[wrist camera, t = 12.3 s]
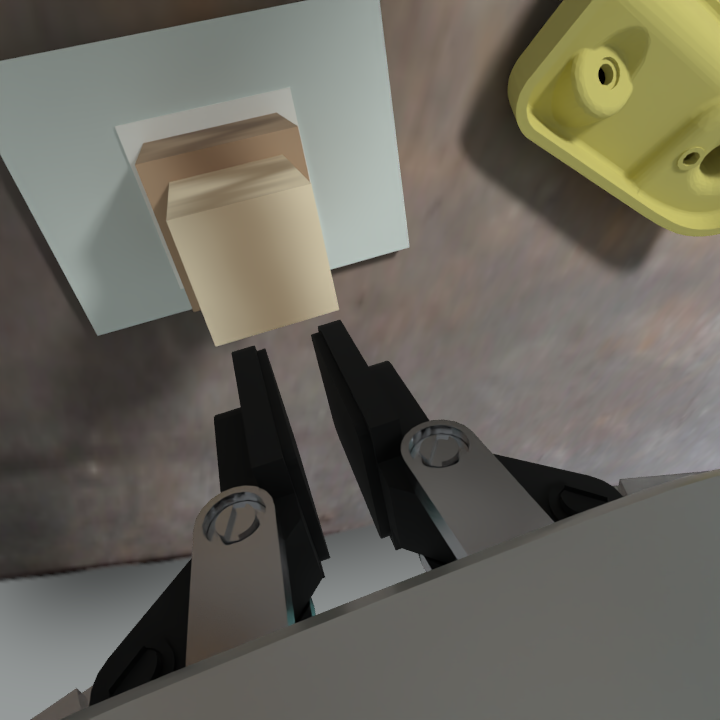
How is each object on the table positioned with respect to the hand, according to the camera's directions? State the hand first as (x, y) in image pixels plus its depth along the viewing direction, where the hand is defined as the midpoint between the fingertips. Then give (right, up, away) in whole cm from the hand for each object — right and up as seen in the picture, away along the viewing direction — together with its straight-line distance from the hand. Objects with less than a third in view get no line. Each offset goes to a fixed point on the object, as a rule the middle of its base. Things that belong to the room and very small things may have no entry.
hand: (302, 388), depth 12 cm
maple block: (-4, +7, +11) cm, 14 cm away
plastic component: (+19, +18, +22) cm, 35 cm away
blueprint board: (-6, +11, +17) cm, 21 cm away
